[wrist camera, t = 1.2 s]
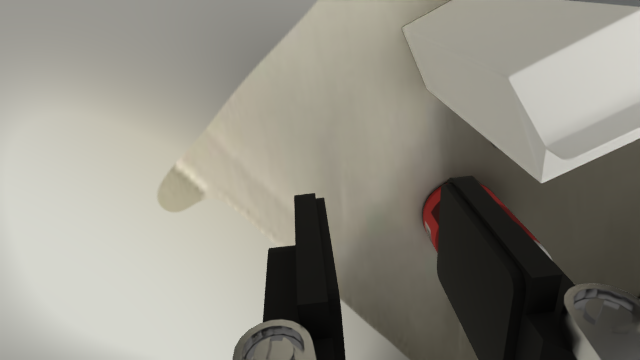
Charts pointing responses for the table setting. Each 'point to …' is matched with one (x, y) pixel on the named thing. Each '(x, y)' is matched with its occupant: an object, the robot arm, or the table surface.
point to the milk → (536, 76)
